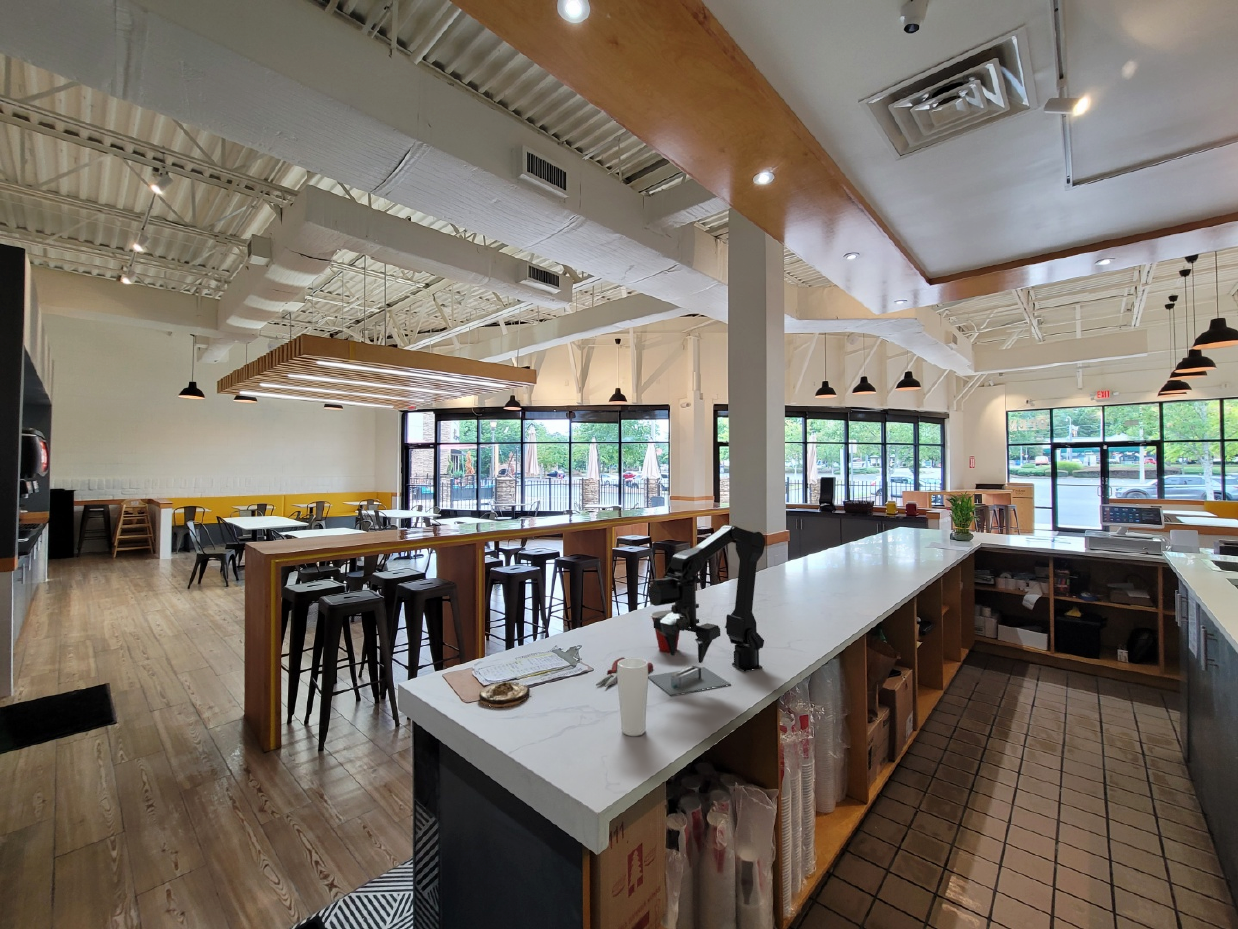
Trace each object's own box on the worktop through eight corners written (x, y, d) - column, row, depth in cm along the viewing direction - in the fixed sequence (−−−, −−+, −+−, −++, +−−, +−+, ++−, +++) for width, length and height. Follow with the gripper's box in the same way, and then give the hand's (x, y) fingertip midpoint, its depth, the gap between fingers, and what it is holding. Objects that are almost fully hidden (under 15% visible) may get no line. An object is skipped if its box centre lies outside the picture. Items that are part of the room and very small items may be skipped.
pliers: (582, 686, 146) (582, 676, 146) (621, 664, 163) (621, 655, 163) (618, 695, 140) (618, 684, 140) (654, 671, 157) (654, 662, 157)
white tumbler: (616, 725, 121) (615, 658, 122) (646, 723, 122) (645, 656, 122) (619, 740, 115) (618, 668, 115) (651, 738, 115) (649, 667, 116)
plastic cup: (661, 642, 182) (661, 606, 182) (690, 647, 176) (689, 610, 176) (644, 651, 173) (643, 613, 174) (673, 657, 167) (672, 618, 167)
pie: (508, 716, 128) (508, 699, 128) (462, 705, 135) (461, 688, 135) (546, 694, 141) (545, 678, 141) (501, 684, 148) (501, 669, 148)
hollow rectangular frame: (693, 665, 150) (668, 676, 142) (700, 667, 148) (676, 678, 140) (693, 675, 150) (669, 687, 142) (701, 678, 148) (677, 689, 140)
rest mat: (704, 668, 157) (704, 667, 157) (730, 685, 144) (730, 683, 144) (647, 677, 150) (647, 676, 150) (670, 696, 137) (670, 694, 137)
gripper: (639, 601, 147) (640, 659, 146) (696, 612, 134) (697, 675, 134) (665, 594, 155) (666, 649, 154) (721, 603, 142) (722, 663, 142)
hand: (686, 658), depth 146 cm, fingers open, 9 cm apart
